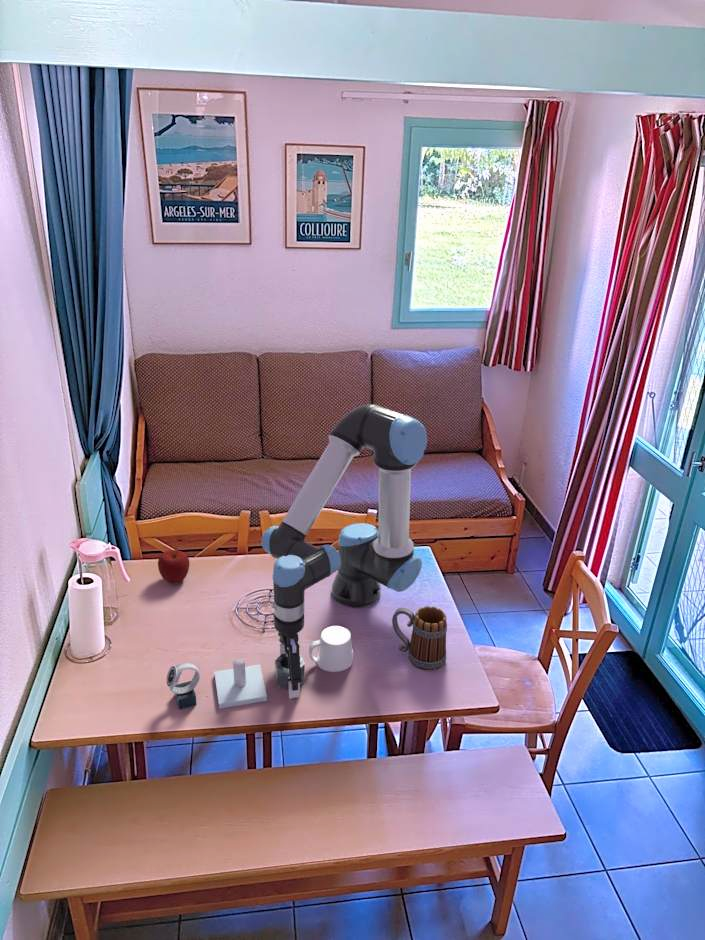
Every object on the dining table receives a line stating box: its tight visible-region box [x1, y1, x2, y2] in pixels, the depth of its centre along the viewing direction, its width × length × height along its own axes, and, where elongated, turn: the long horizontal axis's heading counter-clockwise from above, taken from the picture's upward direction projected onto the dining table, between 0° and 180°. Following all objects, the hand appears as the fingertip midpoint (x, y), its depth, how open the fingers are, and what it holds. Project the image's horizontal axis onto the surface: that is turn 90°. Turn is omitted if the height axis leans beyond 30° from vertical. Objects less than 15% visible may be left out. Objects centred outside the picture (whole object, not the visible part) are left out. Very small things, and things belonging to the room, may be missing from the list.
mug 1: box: [308, 625, 354, 673], centre depth 195 cm, size 12×9×8 cm
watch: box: [166, 662, 201, 710], centre depth 181 cm, size 6×8×11 cm
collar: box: [274, 653, 306, 691], centre depth 190 cm, size 7×7×6 cm
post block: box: [213, 658, 268, 709], centre depth 186 cm, size 12×12×8 cm
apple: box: [157, 549, 190, 585], centre depth 227 cm, size 10×10×10 cm
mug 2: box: [391, 605, 448, 672], centre depth 197 cm, size 16×11×15 cm
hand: (289, 679), depth 191 cm, fingers open, 12 cm apart
